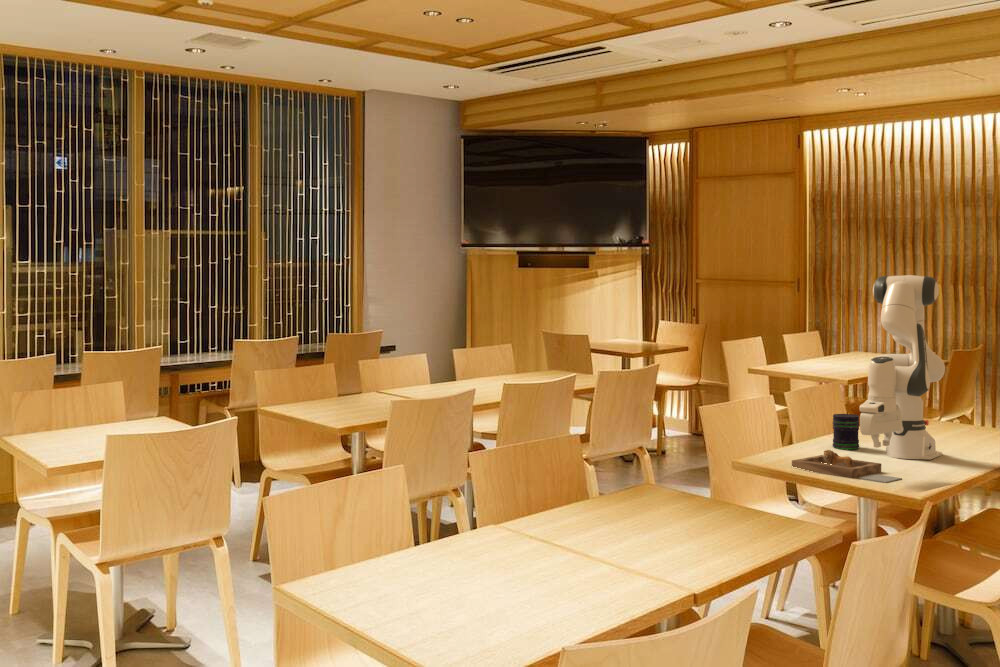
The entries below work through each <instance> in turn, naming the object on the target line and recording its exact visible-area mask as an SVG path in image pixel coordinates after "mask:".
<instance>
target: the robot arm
mask: <svg viewBox="0 0 1000 667" xmlns="http://www.w3.org/2000/svg"><path fill="white" fill-rule="evenodd" d="M872 294H873V298H874V301H876V302H877V303H878V304H881V312H880V323H881V327H882V328H883V329H884V330H885V332H887V333H888V334H890V335H891V338H892V339H893V340H894V342H895V343H897V344H899V345H900V346H902V347H905V348H906V349H908V350H909V351H910V352H909V353H885V354H878V355H876V356H875V357H873V358H871V359H870V360H869V365H868V373H867V374H868V375H867V385H868V393H867V399H866V400H865V401H864V402H863V403H861V404H860V405H859V408H858V409H859V412H861V413H860V415H859V431H860V433H861V435H863V436H870V438H871V439H872V442H873V447H874V448H876V449H877V448H881V446H883V447H886V448H885V450H883V453H884V454H886V455H887V457H889V456H890V458H896V459H902V460H903V459H905V460H932V459H933V460H934V459H935V458H937V457H940V456H942V455H943V452H942V451H938V450H936V448H937V447H936V440H935V438H934V437H933V436H932V435H931V434H930V432H928V431H927V430H926V426H929V424H930V420H928V419H924V401H923V399H922V396H923V395H925V394H926V393H928V391H929V389H930V386H931V383H934V382H935V383H936V382H940V380H942V379H943V377H944V374H945V372H946V365H945V362H944V361H943V359H942V358H941V356H939V355H938V354H936V353H935V352H934V351H933V350H932V349H931V348H930V346H929V345H928V343H927V339H926V332H925V331H926V330H925V320H926V319H925V316H926V315H925V307H927V306H929V305H932V304H934V303H935V302H936V301H937V299H938V296H939V294H940V287H939V284H938V281H937V280H936V278H935V277H932V276H928V275H925V276H923V275H922V276H921V275H914V274H907V275H891V276H890V275H883V276H879V277H877V278H876V279H875V282H874V283H873V286H872ZM882 434H883V435H884V438H883V440H882V443H881V441H880V439H879V438H880V435H882Z"/></svg>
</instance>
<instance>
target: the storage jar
mask: <svg viewBox="0 0 1000 667" xmlns="http://www.w3.org/2000/svg"><path fill="white" fill-rule="evenodd" d="M832 417H833V418H832V429H833V438H832V447H834V449H837V450H841V451H857V450H859V448H860V444H859V443H860V440H859V431H860V415H858V414H851V413H836V414H835V413H834V414H833V415H832Z"/></svg>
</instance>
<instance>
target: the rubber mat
mask: <svg viewBox="0 0 1000 667" xmlns="http://www.w3.org/2000/svg"><path fill="white" fill-rule="evenodd" d="M857 479H858V480H863V481H871V482H877V483H882V484H887V483H888V484H889V483H891V482H897V481H900V480H901V481H902V480H903V478H902V477H896V476H890V475H883V474H879V473H875V474H870V475H865V476H861V477H857Z"/></svg>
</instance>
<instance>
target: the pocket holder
mask: <svg viewBox="0 0 1000 667" xmlns="http://www.w3.org/2000/svg"><path fill="white" fill-rule="evenodd" d="M823 455H824V454H820V455H816V456H815V455H814V456H808V457H802V458H798V459H792V460H791V467H792V466H793V467H797V468H801V469H805V470H804V471H806V470H809V471H808V472H810V471H813V472H812V473H815V472H819V473H818V474H822V473H823V474H822V475H827V476H828V475H829V476H835V477H840V478H841V477H843V478H848V479H855V478H858V477H863V476H868V475H872V474H879V473H882V463H879V462H874V461H873V462H872V461H865V460H860V459H859V460H858V459H853V458H851V459H852V460H853V463H854V466H855V467H853V464H852V462H851V466H852V467H853V468H850V467H848V466H847V465H846V464H843V465H839V464H836V465H830V464H829V463H828V461H826V460H825V459H824V457H823ZM821 462H822V463H821ZM824 463H827V464H824ZM797 468H796V469H797ZM801 469H800V470H801Z"/></svg>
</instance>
